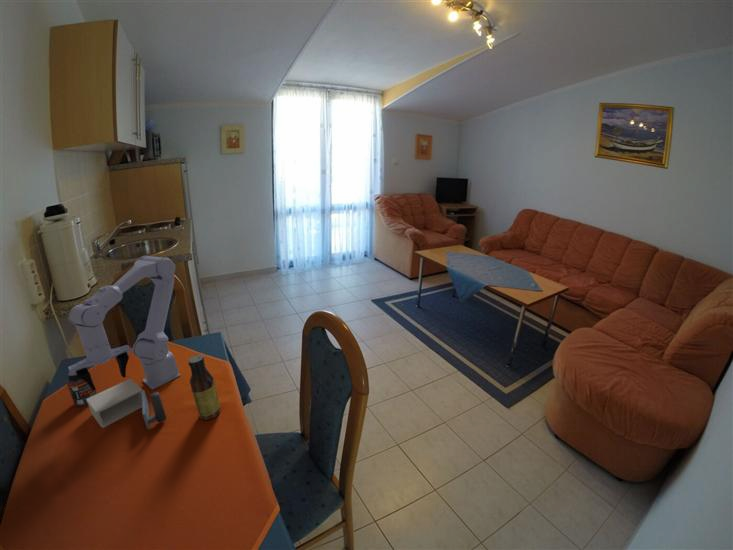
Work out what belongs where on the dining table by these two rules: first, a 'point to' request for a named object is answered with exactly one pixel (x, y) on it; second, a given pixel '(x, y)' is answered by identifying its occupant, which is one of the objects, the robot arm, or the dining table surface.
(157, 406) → the dark grey door handle
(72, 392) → the supplement bottle
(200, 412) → the sauce bottle
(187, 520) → the dining table surface
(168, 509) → the dining table surface
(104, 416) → the carton
